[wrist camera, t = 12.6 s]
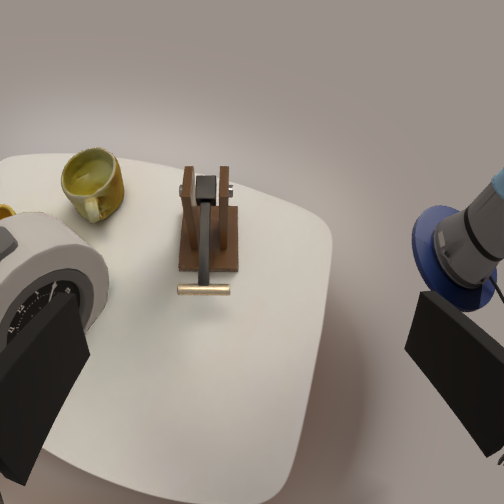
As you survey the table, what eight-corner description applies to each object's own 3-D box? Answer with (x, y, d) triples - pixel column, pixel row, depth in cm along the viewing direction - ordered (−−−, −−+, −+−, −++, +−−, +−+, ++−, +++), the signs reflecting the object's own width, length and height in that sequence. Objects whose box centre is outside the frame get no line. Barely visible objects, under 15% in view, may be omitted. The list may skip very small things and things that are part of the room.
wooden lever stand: (238, 271, 42) (243, 219, 31) (179, 271, 41) (163, 219, 30) (237, 210, 46) (242, 149, 35) (184, 210, 46) (174, 149, 34)
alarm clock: (40, 399, 30) (-63, 378, 13) (11, 363, 32) (-85, 325, 14) (123, 283, 40) (62, 195, 22) (89, 256, 41) (26, 166, 23)
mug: (69, 174, 45) (64, 140, 37) (124, 175, 50) (129, 142, 41) (62, 241, 42) (51, 216, 33) (122, 241, 46) (124, 216, 38)
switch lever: (229, 296, 33) (230, 294, 31) (179, 295, 33) (176, 294, 30) (230, 184, 36) (231, 175, 33) (184, 184, 35) (181, 175, 33)
